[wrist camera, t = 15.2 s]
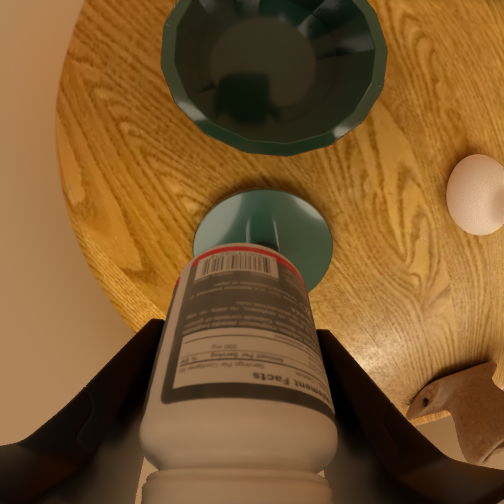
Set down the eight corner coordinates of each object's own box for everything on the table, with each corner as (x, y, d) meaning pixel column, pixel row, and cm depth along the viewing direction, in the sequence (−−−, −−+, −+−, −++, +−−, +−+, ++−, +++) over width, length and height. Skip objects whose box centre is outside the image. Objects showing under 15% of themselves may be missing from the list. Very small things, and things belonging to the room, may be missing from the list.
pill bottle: (247, 353, 13) (248, 545, 6) (153, 298, 11) (94, 519, 4) (332, 288, 11) (393, 521, 4) (232, 209, 9) (208, 535, 2)
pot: (186, 126, 18) (158, 150, 12) (196, -10, 13) (172, -47, 7) (333, 138, 18) (369, 168, 13) (348, 6, 13) (392, -20, 8)
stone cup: (506, 342, 31) (547, 419, 19) (472, 389, 38) (500, 458, 25) (433, 361, 31) (473, 462, 19) (401, 408, 38) (424, 492, 25)
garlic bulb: (440, 229, 21) (494, 290, 15) (437, 157, 18) (507, 203, 12) (492, 211, 20) (548, 261, 14) (493, 144, 17) (562, 182, 11)
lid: (196, 295, 25) (186, 348, 20) (194, 178, 19) (176, 215, 15) (315, 301, 25) (327, 353, 20) (341, 190, 20) (369, 230, 15)
